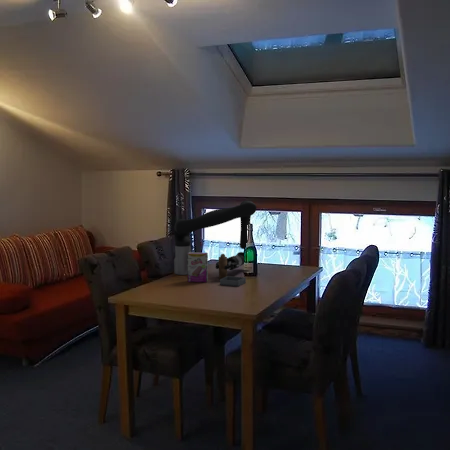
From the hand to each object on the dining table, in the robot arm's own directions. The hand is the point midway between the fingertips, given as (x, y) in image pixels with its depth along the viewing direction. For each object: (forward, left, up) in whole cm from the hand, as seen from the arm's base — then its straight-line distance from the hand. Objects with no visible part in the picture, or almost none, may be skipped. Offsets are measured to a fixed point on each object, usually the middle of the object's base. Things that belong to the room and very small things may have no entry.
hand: (220, 267), depth 295 cm
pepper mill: (0, +3, -8) cm, 8 cm away
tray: (+10, -5, -8) cm, 14 cm away
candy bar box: (-11, -7, -8) cm, 15 cm away
